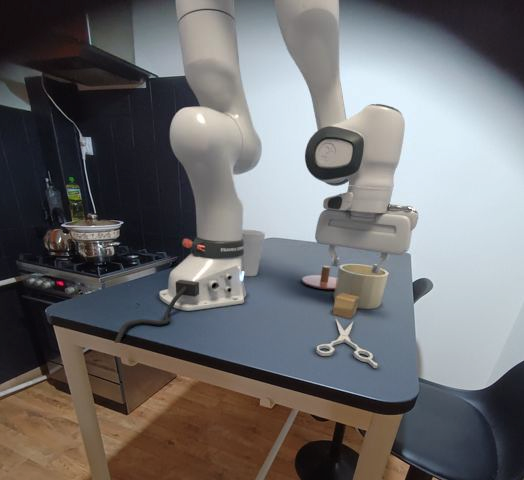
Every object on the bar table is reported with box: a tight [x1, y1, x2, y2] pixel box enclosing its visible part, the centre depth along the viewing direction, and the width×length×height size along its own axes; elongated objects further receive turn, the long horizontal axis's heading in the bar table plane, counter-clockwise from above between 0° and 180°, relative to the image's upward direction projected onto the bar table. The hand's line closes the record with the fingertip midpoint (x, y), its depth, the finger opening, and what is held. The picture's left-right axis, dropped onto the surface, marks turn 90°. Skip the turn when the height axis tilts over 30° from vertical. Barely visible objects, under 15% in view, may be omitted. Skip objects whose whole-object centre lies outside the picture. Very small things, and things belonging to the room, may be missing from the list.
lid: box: [301, 265, 337, 290], centre depth 98 cm, size 14×14×6 cm
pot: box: [333, 263, 390, 310], centre depth 85 cm, size 13×13×8 cm
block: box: [332, 293, 359, 320], centre depth 76 cm, size 4×4×4 cm
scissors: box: [315, 318, 379, 369], centre depth 64 cm, size 11×1×20 cm
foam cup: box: [242, 229, 266, 277], centre depth 101 cm, size 10×9×13 cm
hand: (354, 269), depth 72 cm, fingers open, 8 cm apart
